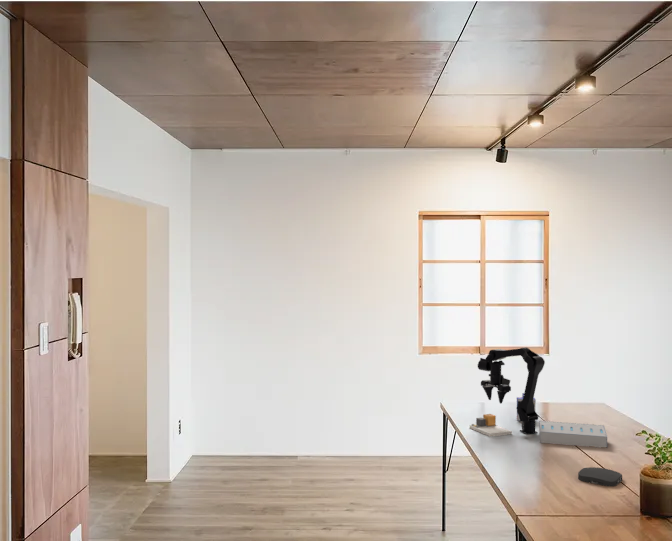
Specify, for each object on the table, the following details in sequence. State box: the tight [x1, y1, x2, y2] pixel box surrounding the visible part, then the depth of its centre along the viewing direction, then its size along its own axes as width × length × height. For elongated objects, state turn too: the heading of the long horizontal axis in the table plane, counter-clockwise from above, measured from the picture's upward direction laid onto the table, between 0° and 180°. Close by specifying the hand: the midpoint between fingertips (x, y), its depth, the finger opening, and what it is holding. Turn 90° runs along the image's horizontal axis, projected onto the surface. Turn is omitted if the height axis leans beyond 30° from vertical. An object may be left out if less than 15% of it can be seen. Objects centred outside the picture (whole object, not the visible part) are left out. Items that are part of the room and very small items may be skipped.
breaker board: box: [469, 423, 513, 438], centre depth 326 cm, size 18×13×2 cm
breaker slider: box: [475, 417, 486, 426], centre depth 331 cm, size 4×3×4 cm
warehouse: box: [538, 420, 608, 448], centre depth 307 cm, size 30×14×8 cm, turn 73°
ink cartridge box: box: [516, 392, 537, 422], centre depth 350 cm, size 10×6×14 cm, turn 81°
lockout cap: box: [482, 413, 497, 426], centre depth 333 cm, size 4×4×5 cm
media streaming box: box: [577, 466, 623, 487], centre depth 252 cm, size 15×15×3 cm
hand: (495, 401), depth 341 cm, fingers open, 9 cm apart
